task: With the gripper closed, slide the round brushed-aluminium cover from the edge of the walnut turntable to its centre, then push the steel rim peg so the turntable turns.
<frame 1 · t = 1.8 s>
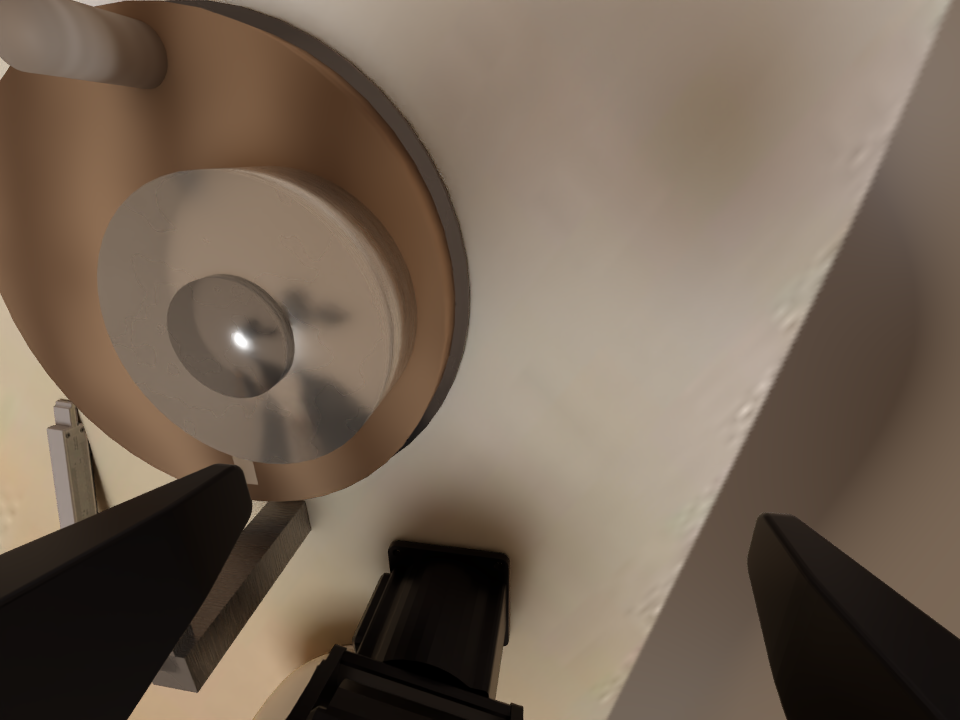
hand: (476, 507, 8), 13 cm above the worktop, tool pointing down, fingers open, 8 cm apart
turntable: (184, 308, 19), point 3 cm above the worktop, hinge at 0.0°, touching cover
turntable stand: (241, 285, 22), on the worktop
lidded jar: (369, 674, 32), on the worktop
cover: (293, 303, 19), point 2 cm above the worktop, touching turntable
caliper: (122, 536, 31), on the worktop
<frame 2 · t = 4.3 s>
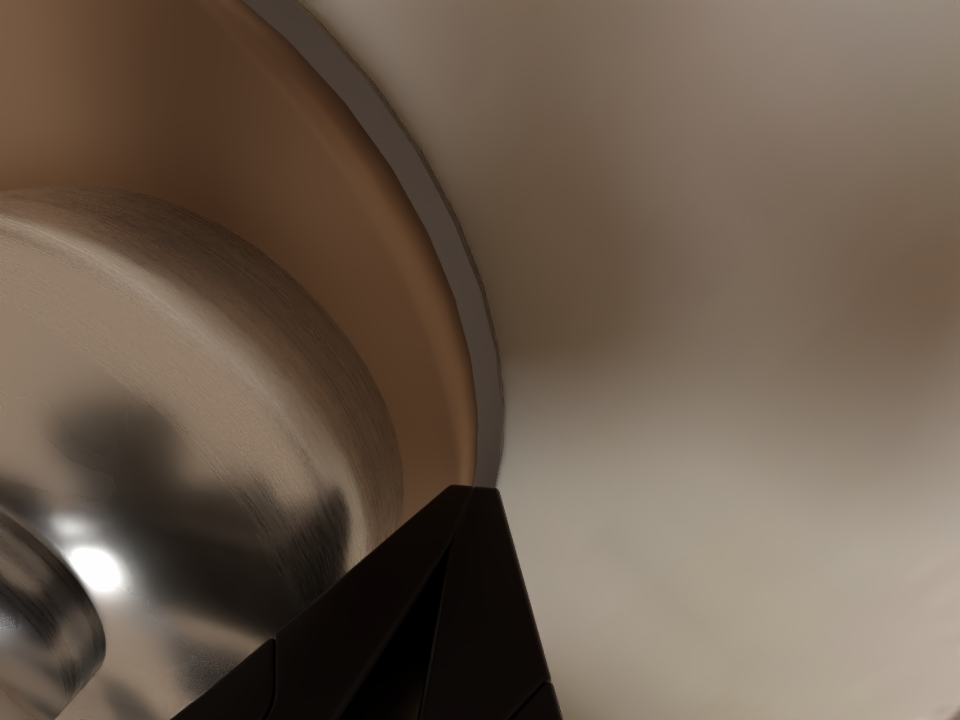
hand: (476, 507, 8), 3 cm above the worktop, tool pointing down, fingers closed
turntable stand: (108, 384, 13), on the worktop
cover: (166, 446, 10), point 2 cm above the worktop, touching gripper, turntable
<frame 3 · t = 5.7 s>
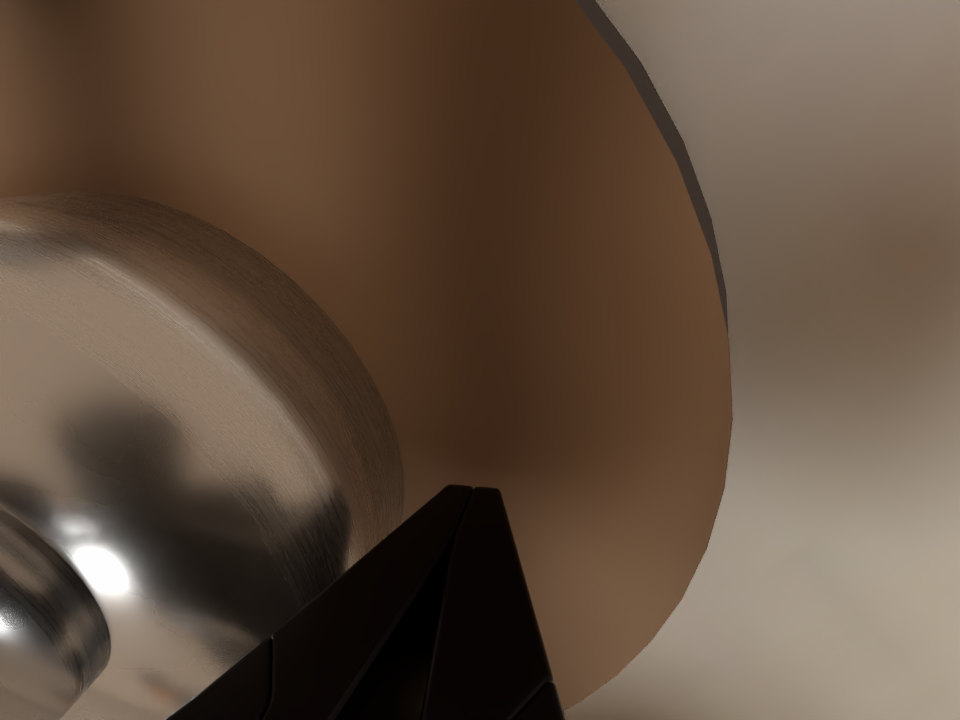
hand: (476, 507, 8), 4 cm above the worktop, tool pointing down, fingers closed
turntable: (151, 475, 9), point 3 cm above the worktop, hinge at 0.0°, touching cover
turntable stand: (262, 388, 12), on the worktop
cover: (169, 449, 10), point 2 cm above the worktop, touching turntable
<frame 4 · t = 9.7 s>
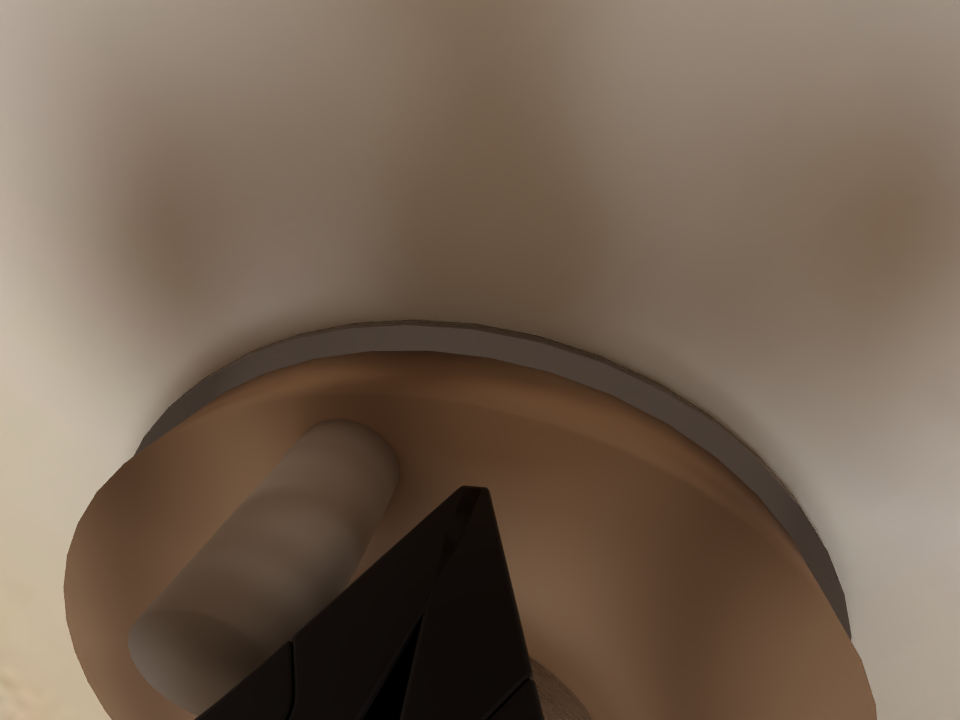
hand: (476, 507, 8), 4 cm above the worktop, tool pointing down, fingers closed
turntable stand: (448, 649, 15), on the worktop
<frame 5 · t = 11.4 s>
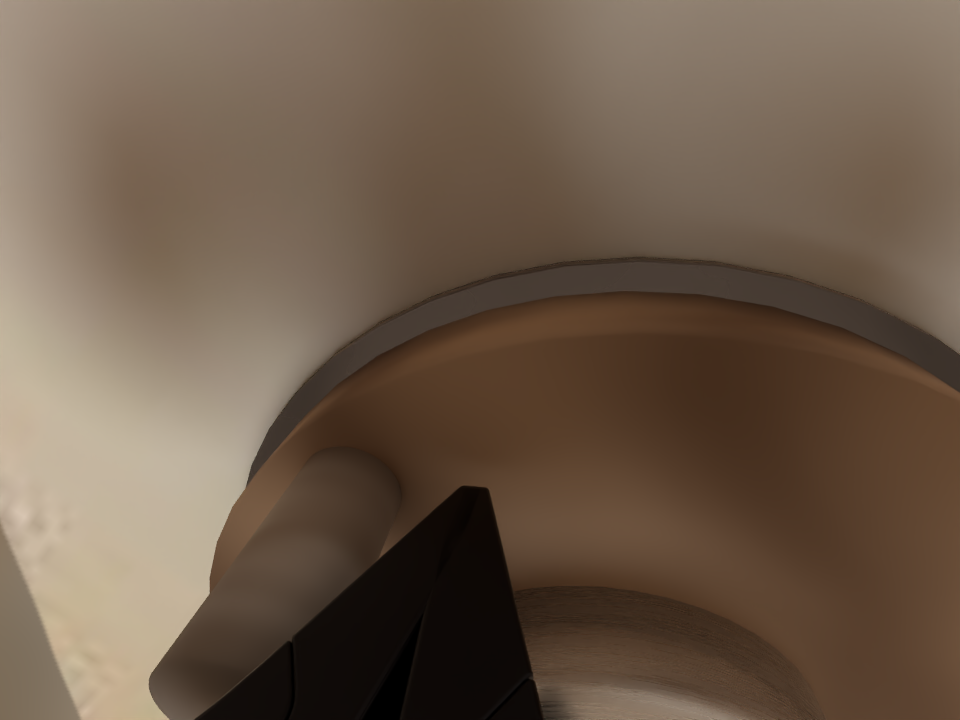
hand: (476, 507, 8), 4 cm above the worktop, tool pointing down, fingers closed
turntable stand: (600, 623, 14), on the worktop
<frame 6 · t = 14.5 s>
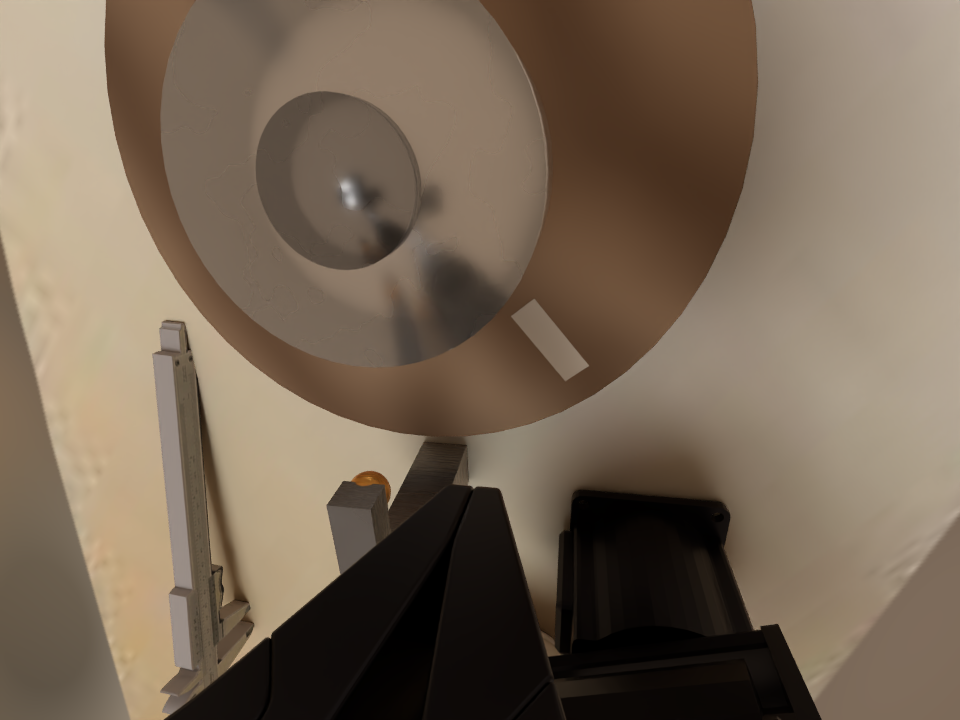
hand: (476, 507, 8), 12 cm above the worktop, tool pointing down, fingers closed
turntable: (389, 160, 14), point 3 cm above the worktop, hinge at 39.0°, touching cover
turntable stand: (423, 157, 17), on the worktop
cover: (392, 176, 15), point 2 cm above the worktop, touching turntable
caliper: (222, 493, 27), on the worktop
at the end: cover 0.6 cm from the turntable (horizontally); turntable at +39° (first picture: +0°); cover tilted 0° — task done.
